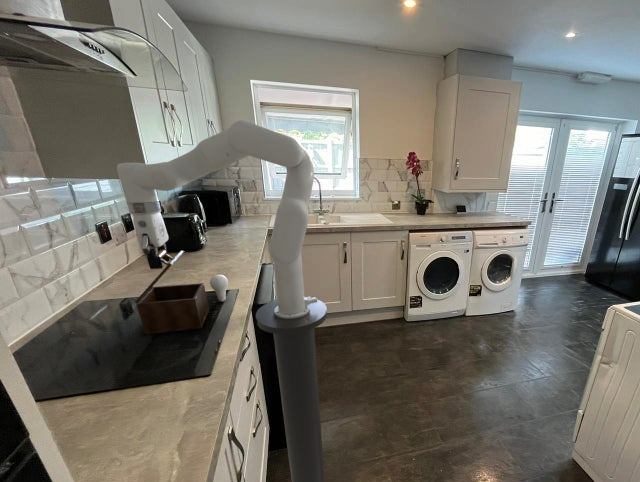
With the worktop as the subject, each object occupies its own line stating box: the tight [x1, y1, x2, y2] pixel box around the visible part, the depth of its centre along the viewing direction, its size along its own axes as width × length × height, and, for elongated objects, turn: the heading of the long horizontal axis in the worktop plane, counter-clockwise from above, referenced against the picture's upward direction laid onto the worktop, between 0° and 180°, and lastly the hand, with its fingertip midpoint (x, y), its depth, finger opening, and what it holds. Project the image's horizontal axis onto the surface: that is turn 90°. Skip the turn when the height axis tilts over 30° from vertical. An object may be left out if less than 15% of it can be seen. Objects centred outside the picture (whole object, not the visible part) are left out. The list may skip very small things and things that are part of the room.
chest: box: [135, 282, 210, 336], centre depth 108 cm, size 16×14×11 cm
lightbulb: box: [209, 274, 229, 302], centre depth 123 cm, size 6×6×11 cm
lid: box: [134, 249, 185, 304], centre depth 102 cm, size 16×14×5 cm
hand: (160, 264), depth 102 cm, fingers closed on lid, 6 cm apart
